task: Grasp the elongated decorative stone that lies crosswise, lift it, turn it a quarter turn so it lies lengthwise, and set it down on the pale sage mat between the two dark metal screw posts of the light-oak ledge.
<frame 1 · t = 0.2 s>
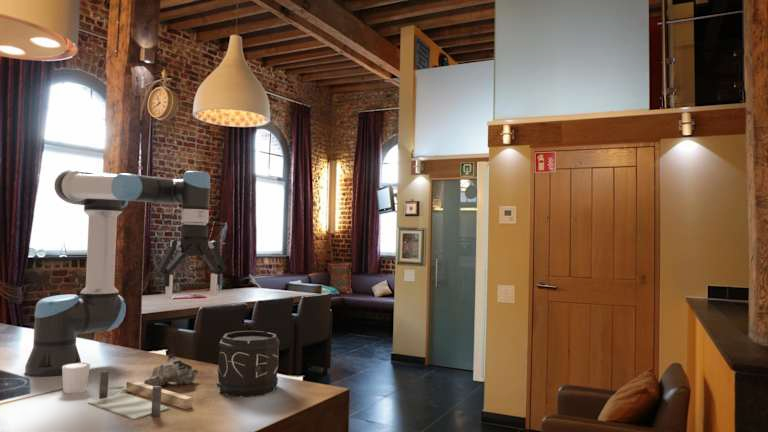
hand: (191, 297, 158), 27 cm above the counter, fingers open, 13 cm apart
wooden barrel: (248, 390, 159), on the counter
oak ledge: (128, 406, 140), on the counter
shot glass: (74, 391, 152), on the counter
decorative stone: (169, 386, 161), on the counter
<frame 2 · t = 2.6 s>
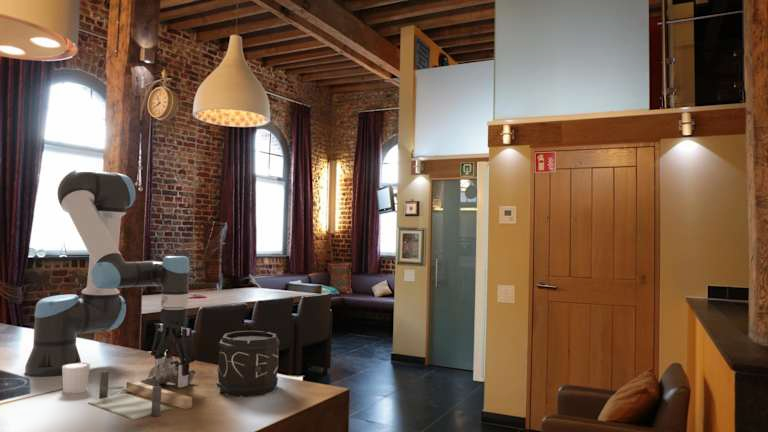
hand: (171, 383, 161), 0 cm above the counter, fingers open, 10 cm apart
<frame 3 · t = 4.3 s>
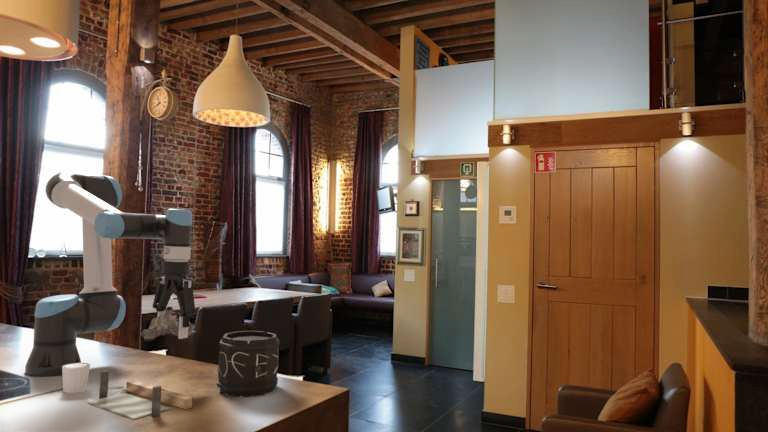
hand: (171, 335, 162), 14 cm above the counter, fingers closed on decorative stone, 10 cm apart
decorative stone: (167, 338, 161), point 14 cm above the counter, touching gripper
everything else where it was.
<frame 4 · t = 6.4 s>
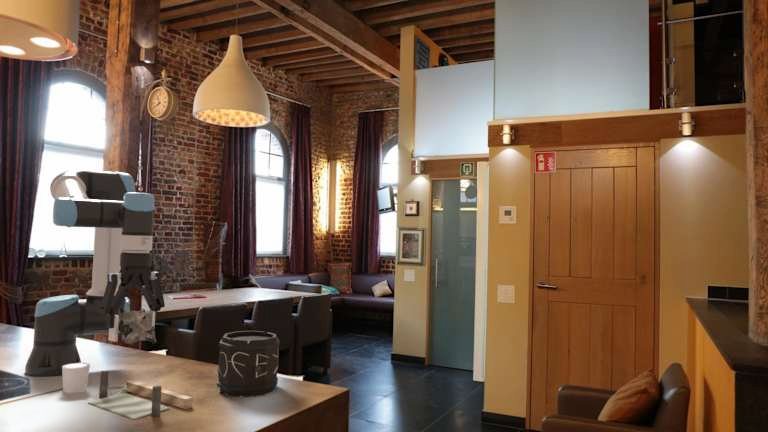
hand: (131, 337, 141), 18 cm above the counter, fingers closed on decorative stone, 10 cm apart
decorative stone: (133, 341, 140), point 17 cm above the counter, touching gripper
everything else where it was.
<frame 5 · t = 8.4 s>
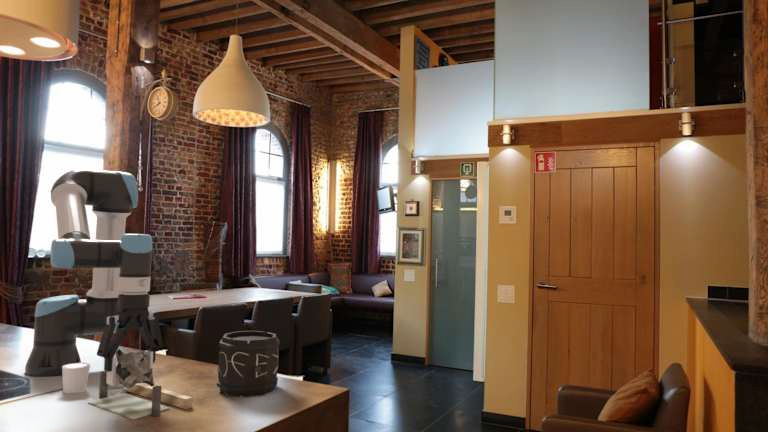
hand: (129, 379, 141), 7 cm above the counter, fingers closed on decorative stone, 10 cm apart
decorative stone: (131, 383, 140), point 6 cm above the counter, touching gripper
everything else where it was.
when the fingers open (3 cm above the counter, at t = 9.8 s): decorative stone drops 2 cm, resting on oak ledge.
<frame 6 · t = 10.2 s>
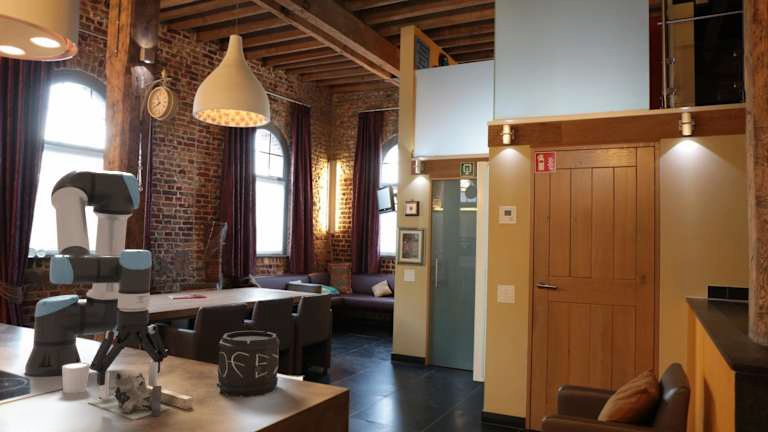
hand: (129, 391, 140), 4 cm above the counter, fingers open, 13 cm apart
decorative stone: (130, 406, 140), resting on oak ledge
everything else where it was.
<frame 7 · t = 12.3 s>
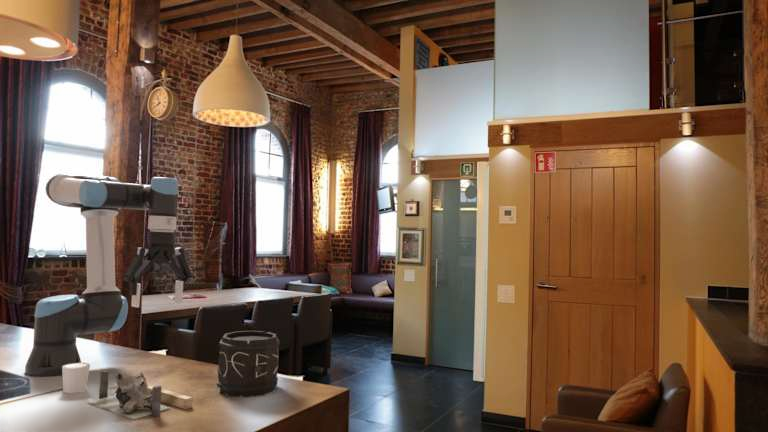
hand: (157, 304, 156), 24 cm above the counter, fingers open, 13 cm apart
nothing on the counter moved.
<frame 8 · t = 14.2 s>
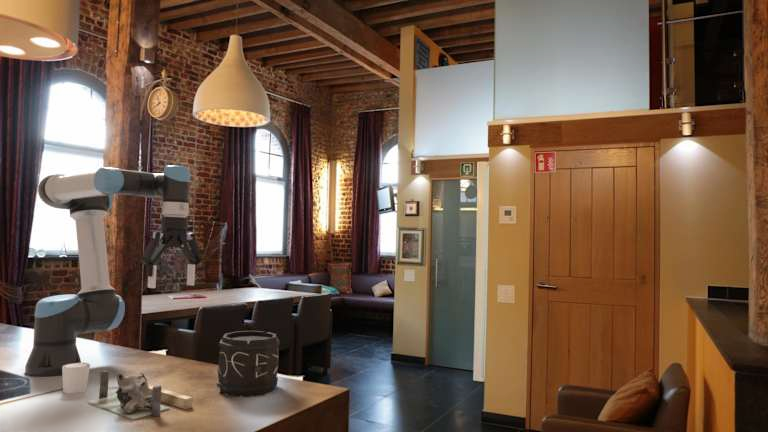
hand: (171, 286, 165), 29 cm above the counter, fingers open, 13 cm apart
nothing on the counter moved.
at the end: decorative stone inside the target area on the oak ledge (1.9 cm from its centre), point 0.2 cm above the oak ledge's base; the gripper is holding nothing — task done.
